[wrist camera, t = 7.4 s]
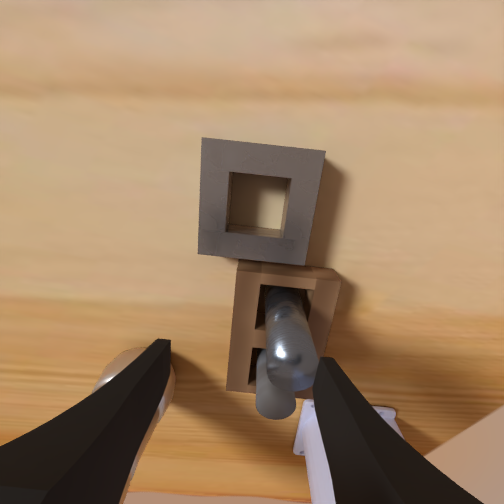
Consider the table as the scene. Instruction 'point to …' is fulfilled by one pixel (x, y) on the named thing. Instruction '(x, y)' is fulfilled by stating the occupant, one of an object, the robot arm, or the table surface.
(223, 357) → the table surface
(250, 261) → the rack
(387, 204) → the table surface
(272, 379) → the shiny steel cylinder
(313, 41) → the table surface
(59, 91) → the table surface
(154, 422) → the plastic bottle
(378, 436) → the robot arm
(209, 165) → the socket block
